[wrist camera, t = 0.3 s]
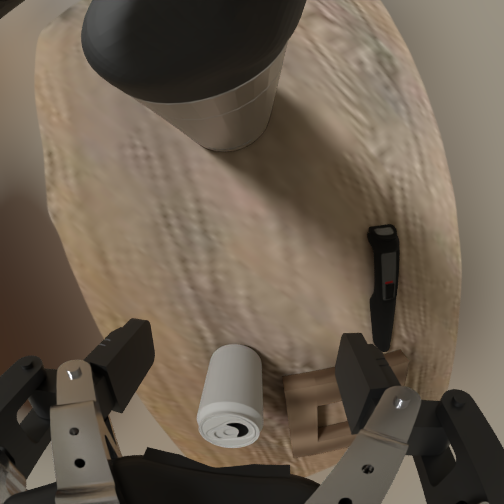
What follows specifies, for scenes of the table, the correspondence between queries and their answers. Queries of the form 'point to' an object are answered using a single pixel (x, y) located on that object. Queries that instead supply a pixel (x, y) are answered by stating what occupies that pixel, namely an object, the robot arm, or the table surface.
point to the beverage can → (232, 398)
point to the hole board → (321, 393)
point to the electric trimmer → (384, 283)
